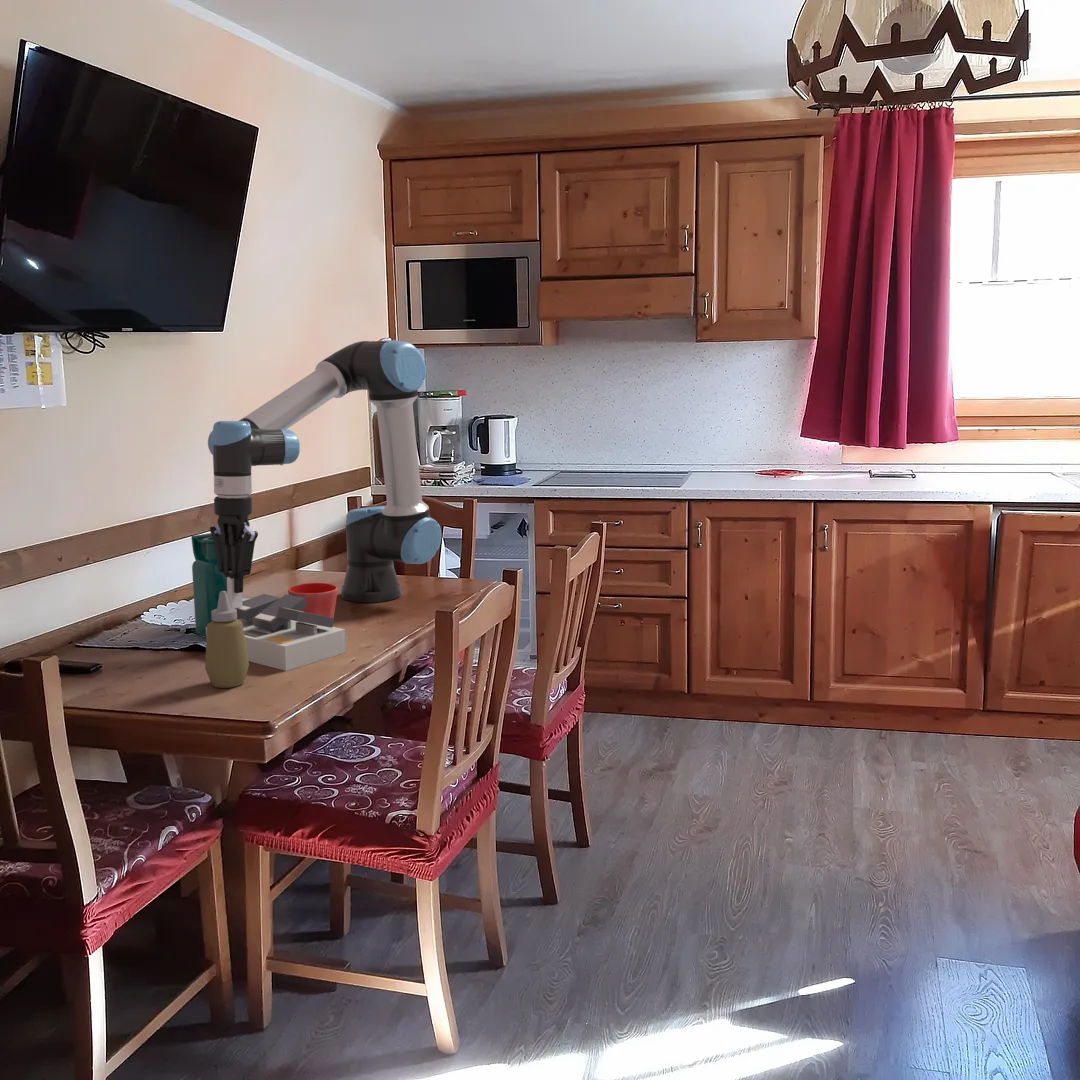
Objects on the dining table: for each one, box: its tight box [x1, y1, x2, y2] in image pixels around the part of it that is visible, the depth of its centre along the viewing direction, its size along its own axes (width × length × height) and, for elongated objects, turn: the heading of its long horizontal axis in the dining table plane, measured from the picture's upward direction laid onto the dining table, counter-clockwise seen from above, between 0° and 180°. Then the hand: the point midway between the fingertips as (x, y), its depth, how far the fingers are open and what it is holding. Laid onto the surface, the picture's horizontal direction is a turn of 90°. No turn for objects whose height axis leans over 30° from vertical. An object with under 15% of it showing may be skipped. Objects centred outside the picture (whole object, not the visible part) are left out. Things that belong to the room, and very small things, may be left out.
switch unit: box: [205, 618, 347, 672], centre depth 222 cm, size 16×25×7 cm, turn 54°
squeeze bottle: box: [204, 591, 250, 689], centre depth 200 cm, size 8×8×18 cm
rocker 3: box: [277, 607, 335, 628], centre depth 218 cm, size 10×6×2 cm, turn 145°
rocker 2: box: [252, 593, 308, 631], centre depth 223 cm, size 10×6×2 cm, turn 143°
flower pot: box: [287, 582, 339, 619], centre depth 240 cm, size 11×11×10 cm
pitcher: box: [190, 532, 239, 638], centre depth 235 cm, size 10×8×22 cm
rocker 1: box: [234, 593, 282, 620], centre depth 227 cm, size 10×6×2 cm, turn 144°
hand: (235, 607), depth 223 cm, fingers closed
